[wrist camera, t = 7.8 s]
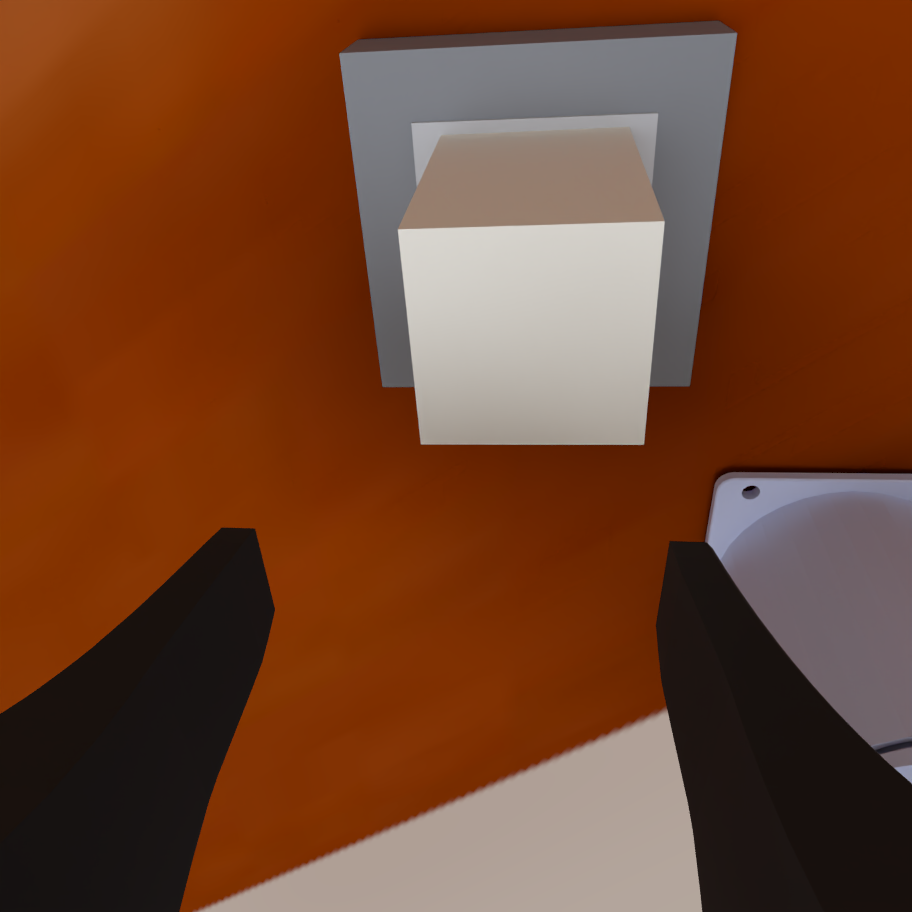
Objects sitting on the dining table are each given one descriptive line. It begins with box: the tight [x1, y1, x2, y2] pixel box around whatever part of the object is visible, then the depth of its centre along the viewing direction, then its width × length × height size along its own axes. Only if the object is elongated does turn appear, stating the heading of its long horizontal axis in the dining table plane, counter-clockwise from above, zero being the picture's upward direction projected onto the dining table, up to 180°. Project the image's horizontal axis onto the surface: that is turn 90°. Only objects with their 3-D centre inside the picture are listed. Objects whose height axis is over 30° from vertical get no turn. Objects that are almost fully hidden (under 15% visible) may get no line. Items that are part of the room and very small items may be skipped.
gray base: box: [339, 21, 737, 387], centre depth 19 cm, size 8×8×2 cm
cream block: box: [398, 127, 665, 445], centre depth 15 cm, size 4×4×6 cm
